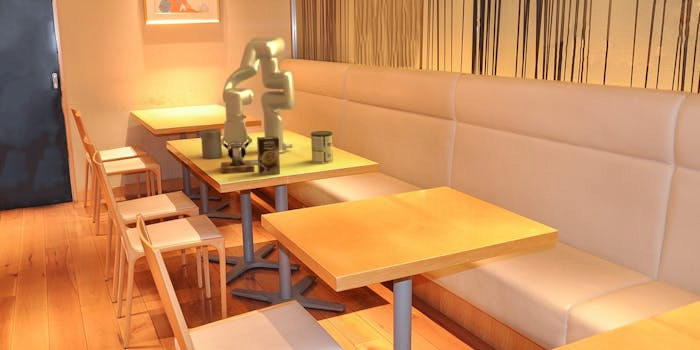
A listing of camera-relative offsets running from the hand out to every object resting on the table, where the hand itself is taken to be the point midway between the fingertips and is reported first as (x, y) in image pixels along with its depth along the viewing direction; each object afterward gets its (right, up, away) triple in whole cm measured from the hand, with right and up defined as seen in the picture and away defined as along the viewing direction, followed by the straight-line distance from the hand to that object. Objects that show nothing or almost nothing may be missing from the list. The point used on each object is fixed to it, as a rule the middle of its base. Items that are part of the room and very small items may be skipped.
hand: (237, 157), depth 291 cm
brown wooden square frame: (0, -6, +1) cm, 6 cm away
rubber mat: (+4, -2, +15) cm, 15 cm away
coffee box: (+16, -8, -7) cm, 19 cm away
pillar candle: (-18, +1, +30) cm, 35 cm away
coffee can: (+38, -2, +16) cm, 42 cm away
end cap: (0, -3, +1) cm, 3 cm away
